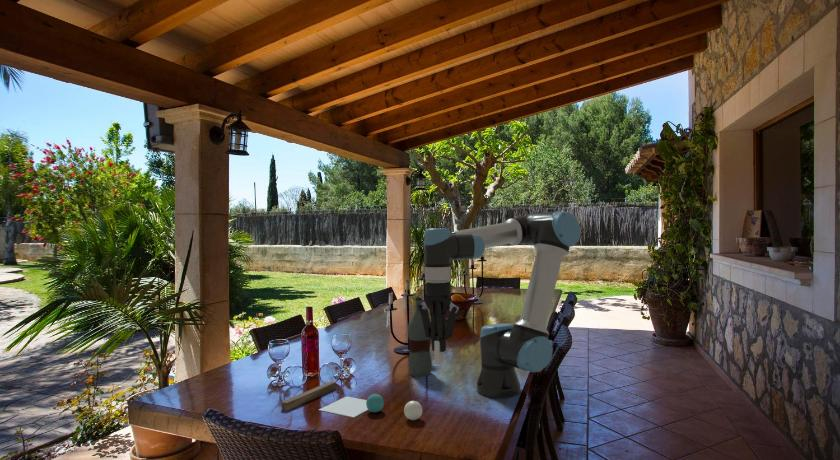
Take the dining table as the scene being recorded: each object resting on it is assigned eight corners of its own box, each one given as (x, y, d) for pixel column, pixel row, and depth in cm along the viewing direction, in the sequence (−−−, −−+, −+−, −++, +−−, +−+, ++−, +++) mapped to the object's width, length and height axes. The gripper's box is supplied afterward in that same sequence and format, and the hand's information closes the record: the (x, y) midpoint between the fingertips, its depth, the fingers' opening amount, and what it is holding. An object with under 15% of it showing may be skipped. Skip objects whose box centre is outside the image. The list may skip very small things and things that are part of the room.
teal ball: (387, 410, 160) (386, 393, 160) (377, 416, 156) (376, 398, 156) (373, 407, 163) (372, 390, 163) (362, 413, 158) (362, 395, 158)
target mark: (380, 403, 167) (380, 402, 167) (353, 417, 155) (353, 417, 155) (346, 396, 174) (346, 396, 174) (318, 410, 162) (318, 409, 162)
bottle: (429, 377, 194) (427, 299, 194) (406, 376, 196) (404, 299, 196) (433, 370, 203) (432, 295, 203) (411, 369, 205) (409, 295, 205)
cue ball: (425, 417, 153) (425, 399, 153) (416, 424, 149) (416, 405, 149) (410, 414, 156) (409, 397, 156) (400, 421, 151) (400, 402, 151)
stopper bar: (335, 389, 183) (335, 382, 183) (287, 410, 162) (287, 403, 162) (330, 388, 184) (330, 381, 184) (281, 409, 163) (281, 401, 163)
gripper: (463, 280, 147) (465, 362, 147) (424, 279, 154) (425, 357, 154) (452, 283, 141) (453, 368, 141) (412, 281, 147) (413, 362, 147)
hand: (439, 362), depth 147 cm, fingers closed
